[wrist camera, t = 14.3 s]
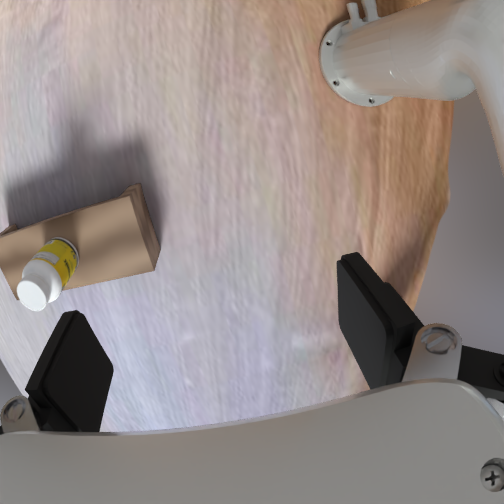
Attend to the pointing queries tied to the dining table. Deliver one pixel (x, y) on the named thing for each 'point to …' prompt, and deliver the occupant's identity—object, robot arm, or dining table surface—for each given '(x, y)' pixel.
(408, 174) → the dining table surface
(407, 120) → the dining table surface
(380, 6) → the dining table surface
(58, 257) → the supplement bottle
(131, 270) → the wooden shelf
